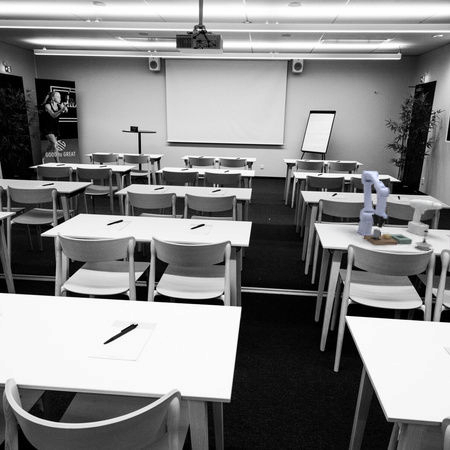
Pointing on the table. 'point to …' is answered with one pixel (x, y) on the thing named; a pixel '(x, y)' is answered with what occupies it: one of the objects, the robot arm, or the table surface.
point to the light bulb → (423, 244)
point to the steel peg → (376, 234)
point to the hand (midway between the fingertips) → (377, 226)
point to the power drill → (419, 209)
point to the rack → (401, 239)
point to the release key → (387, 236)
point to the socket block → (381, 240)
